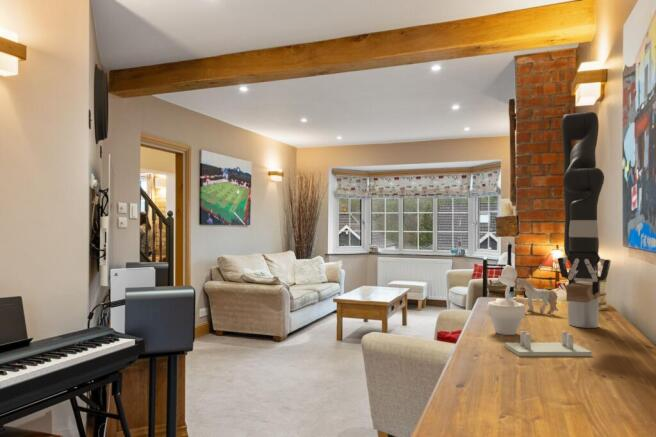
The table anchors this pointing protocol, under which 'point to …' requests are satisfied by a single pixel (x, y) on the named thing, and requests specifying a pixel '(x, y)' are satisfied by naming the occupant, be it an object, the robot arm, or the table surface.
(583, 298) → the walnut shelf board
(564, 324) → the table surface
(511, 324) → the potted plant
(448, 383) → the table surface
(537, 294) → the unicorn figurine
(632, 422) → the table surface
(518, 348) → the peg stand
